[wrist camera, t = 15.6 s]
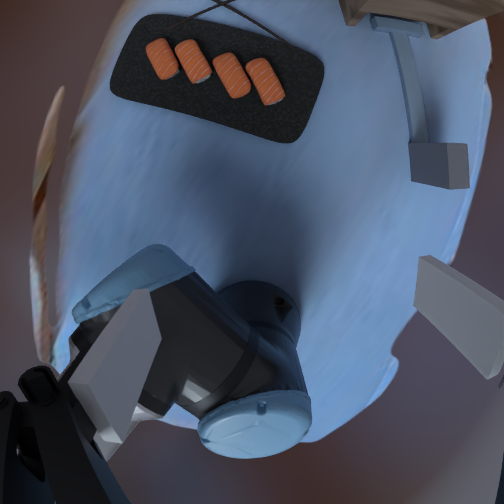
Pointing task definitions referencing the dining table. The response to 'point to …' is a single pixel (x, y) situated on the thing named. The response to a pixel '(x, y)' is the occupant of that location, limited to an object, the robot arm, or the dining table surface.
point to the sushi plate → (219, 74)
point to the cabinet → (425, 12)
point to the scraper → (423, 117)
